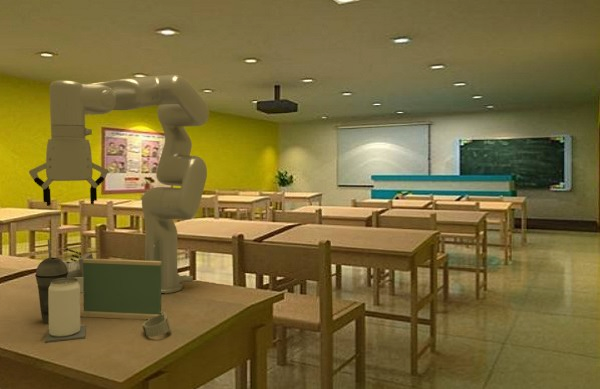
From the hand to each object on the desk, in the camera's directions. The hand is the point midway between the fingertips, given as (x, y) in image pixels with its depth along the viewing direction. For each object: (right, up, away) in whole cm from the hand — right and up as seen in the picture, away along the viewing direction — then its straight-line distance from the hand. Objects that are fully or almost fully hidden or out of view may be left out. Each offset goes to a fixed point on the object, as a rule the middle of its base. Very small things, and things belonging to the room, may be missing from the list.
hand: (70, 204), depth 122 cm
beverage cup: (-5, -29, +2) cm, 29 cm away
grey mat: (+3, -29, -8) cm, 30 cm away
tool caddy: (-17, -26, +40) cm, 51 cm away
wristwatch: (+23, -30, -6) cm, 38 cm away
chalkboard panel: (+10, -29, +6) cm, 31 cm away
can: (+2, -29, -8) cm, 30 cm away
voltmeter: (-16, -26, +40) cm, 51 cm away
